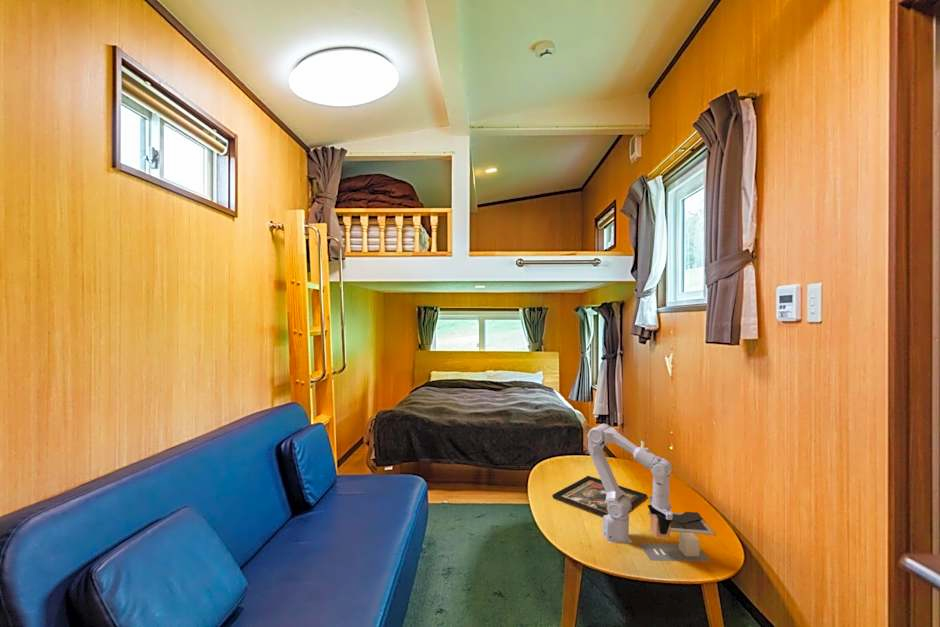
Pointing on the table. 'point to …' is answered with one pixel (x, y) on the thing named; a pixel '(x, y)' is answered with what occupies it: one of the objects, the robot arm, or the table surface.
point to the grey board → (669, 553)
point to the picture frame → (689, 523)
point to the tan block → (689, 544)
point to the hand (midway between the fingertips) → (659, 529)
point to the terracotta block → (657, 527)
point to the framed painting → (593, 496)
